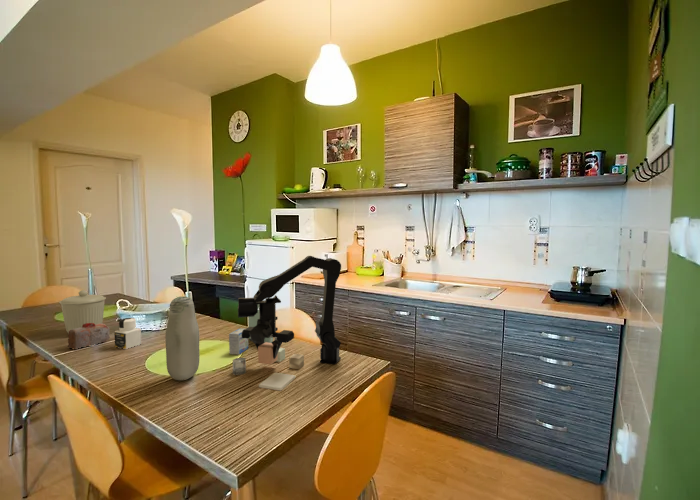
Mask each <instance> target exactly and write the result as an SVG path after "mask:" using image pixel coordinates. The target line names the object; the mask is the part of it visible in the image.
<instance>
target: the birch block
mask: <svg viewBox="0 0 700 500" xmlns="http://www.w3.org/2000/svg"><path fill="white" fill-rule="evenodd" d="M288 361H289V363H288V367H289V369H296V370H300V369H301V368H303V366H304V365H305V355H304V354H302V353H301V354H299V353H293V354H292V355H291V356H289V360H288Z"/></svg>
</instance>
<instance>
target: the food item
mask: <svg viewBox="0 0 700 500" xmlns="http://www.w3.org/2000/svg"><path fill="white" fill-rule="evenodd" d="M110 330H111V329H110V327H109V326H107V325H106V324H105V323H103V322H102V323H100V324H96V325H95V324H94V323H85V324H83V325H82V327H80V328H76V329H71V330H70V331H69V334H68V336H67V337H68V338H67V339H68V340H67V344H68V345H67V348H68V347H69V348H74V349H78V348H81V347H85V346H89V345H94V344H96V345H99V344H98V343H100V344H102V343H101V342H103V343H105V341H106V342H107V341H109V339H110V335H111V334H110ZM94 346H95V345H94ZM89 347H90V346H89ZM69 348H68V349H69ZM85 348H86V347H85ZM74 349H73V350H74ZM81 349H82V348H81ZM78 350H79V349H78Z"/></svg>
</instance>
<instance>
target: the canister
mask: <svg viewBox="0 0 700 500" xmlns="http://www.w3.org/2000/svg"><path fill="white" fill-rule="evenodd" d="M88 293H89V292H88V291H87V290H85V289H82V290H79V292H78V295H73V296H69V297H66V298H63V299H62V300H60V301H59V302H58V303H59V304H60V305H61V312H62V317H63V322H64V326H65V331H66V333H67V334H68V335H69V331H70V330H71V329H76V328H80V327H82V325H83V324H85V323H94V324H95V325H96V324H100V323H103V321H104V310H105V302H106V301H105V300H106V299H107V297H106V296H104V295H102V294H88Z"/></svg>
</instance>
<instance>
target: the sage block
mask: <svg viewBox="0 0 700 500" xmlns="http://www.w3.org/2000/svg"><path fill="white" fill-rule="evenodd" d="M285 359H286V348H283V347H280V349H279V351H278V360H276V361H275V362H278V363H281V362H282V361H283V360H285Z"/></svg>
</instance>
